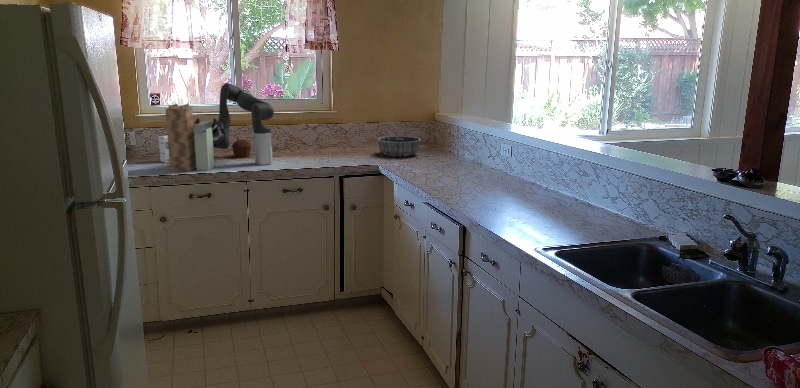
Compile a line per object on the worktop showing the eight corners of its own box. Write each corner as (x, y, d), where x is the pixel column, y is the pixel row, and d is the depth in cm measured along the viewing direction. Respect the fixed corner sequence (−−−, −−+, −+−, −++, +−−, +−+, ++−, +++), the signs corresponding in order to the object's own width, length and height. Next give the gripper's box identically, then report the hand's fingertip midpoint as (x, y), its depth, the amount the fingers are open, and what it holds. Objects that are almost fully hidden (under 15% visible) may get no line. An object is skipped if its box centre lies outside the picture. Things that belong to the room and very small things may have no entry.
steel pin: (212, 128, 327) (211, 120, 326) (202, 133, 307) (201, 125, 306) (204, 128, 326) (204, 120, 325) (194, 133, 307) (193, 125, 306)
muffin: (247, 158, 350) (246, 141, 348) (229, 158, 352) (228, 140, 349) (255, 155, 361) (254, 138, 359) (237, 154, 363) (236, 138, 361)
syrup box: (166, 162, 335) (164, 136, 331) (160, 161, 338) (158, 135, 335) (175, 161, 339) (173, 135, 336) (169, 160, 343) (167, 134, 339)
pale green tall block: (214, 166, 327) (212, 127, 322) (209, 170, 315) (206, 129, 310) (202, 166, 326) (200, 126, 321) (196, 170, 315) (193, 129, 310)
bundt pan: (370, 156, 362) (370, 140, 360) (387, 150, 386) (387, 134, 384) (411, 160, 353) (411, 143, 350) (426, 153, 376) (427, 137, 374)
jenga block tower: (196, 166, 324) (192, 103, 317) (190, 171, 313) (185, 106, 305) (177, 166, 324) (172, 103, 316) (170, 171, 312) (165, 105, 304)
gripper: (200, 125, 337) (192, 113, 322) (226, 125, 338) (219, 113, 322) (199, 137, 335) (191, 126, 319) (225, 137, 336) (218, 126, 320)
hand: (205, 119), depth 321 cm, fingers open, 8 cm apart
